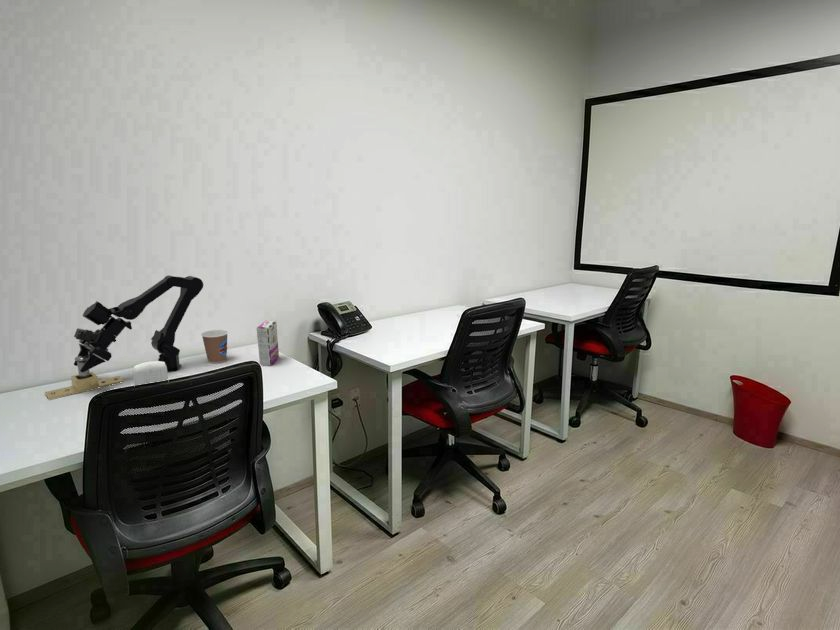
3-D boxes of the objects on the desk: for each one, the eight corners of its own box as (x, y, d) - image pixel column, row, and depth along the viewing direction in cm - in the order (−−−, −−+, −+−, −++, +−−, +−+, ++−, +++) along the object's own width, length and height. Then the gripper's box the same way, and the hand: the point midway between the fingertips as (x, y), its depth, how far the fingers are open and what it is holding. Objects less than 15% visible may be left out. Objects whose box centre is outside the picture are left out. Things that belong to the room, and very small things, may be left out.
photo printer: (169, 390, 171) (165, 357, 168) (170, 395, 168) (166, 361, 165) (135, 397, 166) (131, 362, 163) (136, 401, 162) (131, 366, 159)
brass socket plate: (118, 377, 183) (117, 366, 182) (124, 382, 178) (122, 370, 177) (45, 394, 167) (42, 381, 166) (49, 399, 162) (46, 387, 161)
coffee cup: (223, 364, 198) (221, 336, 195) (199, 364, 198) (196, 336, 196) (234, 356, 208) (232, 330, 205) (211, 356, 208) (208, 329, 206)
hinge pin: (94, 385, 176) (90, 355, 173) (92, 389, 172) (87, 358, 169) (80, 386, 174) (76, 356, 171) (78, 390, 170) (73, 359, 167)
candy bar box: (267, 357, 208) (265, 320, 204) (279, 357, 208) (277, 320, 204) (258, 366, 197) (256, 327, 193) (271, 366, 197) (268, 327, 193)
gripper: (81, 315, 176) (49, 350, 171) (95, 324, 164) (61, 363, 158) (109, 332, 183) (79, 366, 178) (125, 342, 171) (93, 379, 166)
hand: (78, 368), depth 170 cm, fingers open, 9 cm apart
